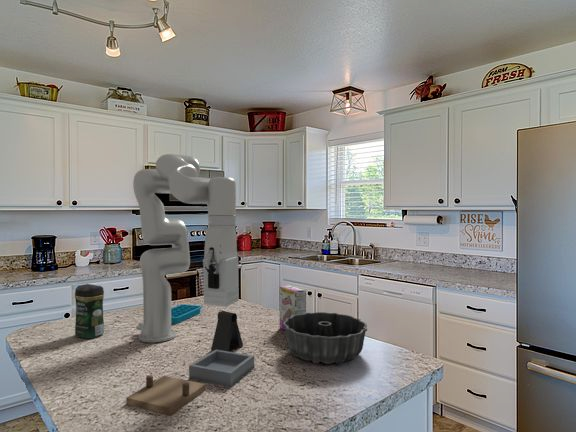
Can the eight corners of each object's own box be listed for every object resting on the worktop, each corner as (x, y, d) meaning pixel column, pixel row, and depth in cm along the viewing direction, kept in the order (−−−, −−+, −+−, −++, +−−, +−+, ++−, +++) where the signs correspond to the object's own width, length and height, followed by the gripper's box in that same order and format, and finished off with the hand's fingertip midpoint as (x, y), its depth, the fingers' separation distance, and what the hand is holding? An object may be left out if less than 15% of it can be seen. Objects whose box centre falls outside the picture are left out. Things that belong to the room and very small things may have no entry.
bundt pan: (383, 354, 122) (383, 322, 122) (332, 379, 103) (332, 342, 103) (319, 335, 141) (319, 307, 141) (266, 354, 122) (266, 322, 122)
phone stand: (224, 354, 121) (224, 316, 121) (210, 350, 125) (210, 313, 125) (243, 346, 129) (243, 310, 128) (230, 342, 132) (230, 308, 132)
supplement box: (239, 301, 109) (239, 256, 109) (226, 307, 103) (226, 260, 102) (217, 298, 112) (217, 255, 112) (202, 304, 105) (202, 258, 105)
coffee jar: (70, 336, 139) (70, 285, 138) (91, 330, 145) (90, 281, 145) (88, 341, 134) (87, 287, 134) (108, 334, 141) (107, 284, 141)
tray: (189, 378, 104) (189, 365, 104) (215, 361, 116) (215, 349, 116) (230, 386, 99) (230, 373, 99) (254, 367, 111) (254, 355, 111)
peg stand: (126, 403, 90) (126, 386, 90) (164, 381, 102) (164, 366, 102) (171, 415, 85) (171, 397, 85) (205, 390, 97) (205, 374, 97)
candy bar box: (278, 328, 148) (278, 286, 148) (289, 326, 151) (289, 284, 151) (295, 336, 139) (295, 291, 138) (306, 334, 142) (306, 289, 141)
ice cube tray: (204, 312, 172) (204, 306, 172) (177, 325, 153) (177, 317, 153) (181, 310, 176) (181, 304, 176) (152, 322, 157) (152, 315, 157)
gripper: (227, 221, 116) (227, 279, 117) (191, 222, 100) (191, 290, 101) (249, 221, 113) (248, 281, 114) (215, 223, 97) (215, 292, 98)
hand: (221, 285), depth 107 cm, fingers closed on supplement box, 7 cm apart
